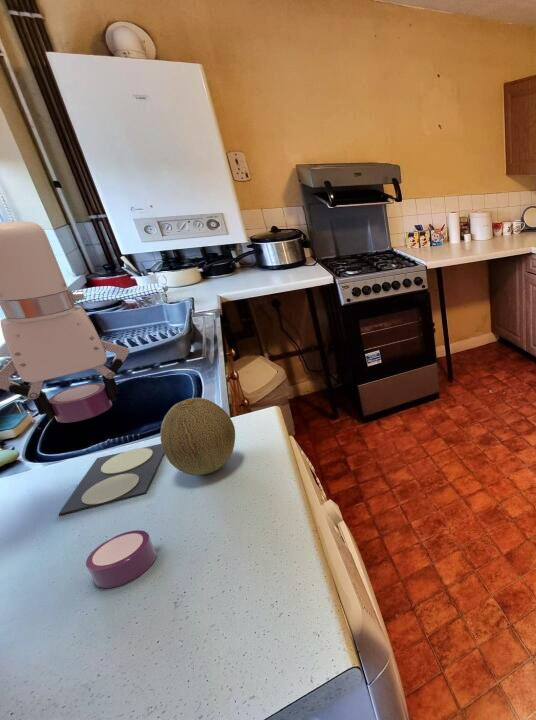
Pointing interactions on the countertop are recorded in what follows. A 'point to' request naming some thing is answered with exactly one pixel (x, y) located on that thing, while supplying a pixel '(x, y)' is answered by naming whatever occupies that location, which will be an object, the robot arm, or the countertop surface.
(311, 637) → the countertop surface
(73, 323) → the robot arm
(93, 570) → the dish
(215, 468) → the fruit
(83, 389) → the dish
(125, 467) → the mat
